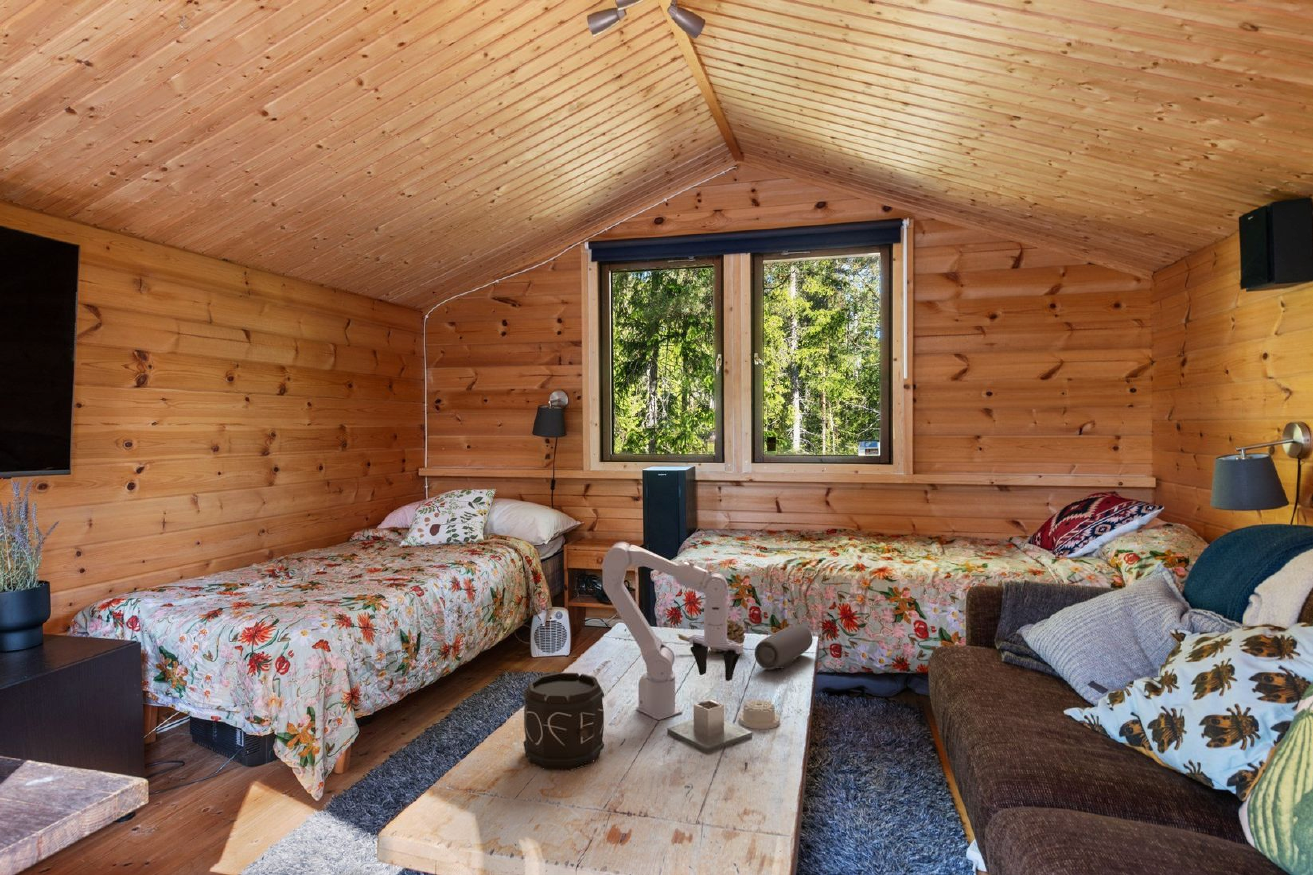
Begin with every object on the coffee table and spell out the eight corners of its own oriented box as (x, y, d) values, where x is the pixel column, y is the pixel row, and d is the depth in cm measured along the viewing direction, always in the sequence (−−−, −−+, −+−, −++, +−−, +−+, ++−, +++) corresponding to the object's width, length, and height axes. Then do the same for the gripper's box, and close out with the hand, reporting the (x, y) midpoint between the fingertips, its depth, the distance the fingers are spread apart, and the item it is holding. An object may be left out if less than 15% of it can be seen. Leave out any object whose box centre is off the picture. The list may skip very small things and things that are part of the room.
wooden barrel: (543, 781, 155) (542, 705, 155) (510, 749, 170) (510, 679, 170) (620, 760, 165) (620, 688, 164) (582, 732, 180) (582, 666, 180)
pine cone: (741, 646, 249) (741, 615, 248) (749, 655, 239) (749, 623, 239) (674, 649, 245) (674, 618, 245) (679, 658, 236) (679, 626, 236)
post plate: (667, 733, 179) (667, 715, 179) (711, 718, 188) (711, 701, 188) (707, 753, 168) (707, 734, 168) (752, 737, 177) (752, 719, 177)
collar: (693, 729, 178) (693, 704, 178) (709, 724, 181) (709, 699, 181) (708, 736, 174) (708, 710, 174) (723, 730, 178) (724, 705, 177)
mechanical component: (737, 728, 183) (779, 731, 181) (737, 710, 182) (779, 713, 181) (740, 713, 192) (780, 715, 190) (740, 695, 192) (780, 698, 190)
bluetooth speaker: (786, 651, 243) (787, 620, 243) (814, 656, 238) (814, 624, 237) (752, 670, 225) (752, 636, 224) (781, 676, 219) (781, 641, 219)
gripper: (682, 621, 191) (682, 675, 192) (733, 630, 183) (732, 687, 183) (697, 615, 197) (697, 668, 197) (747, 624, 189) (747, 679, 189)
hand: (715, 676), depth 191 cm, fingers open, 7 cm apart
